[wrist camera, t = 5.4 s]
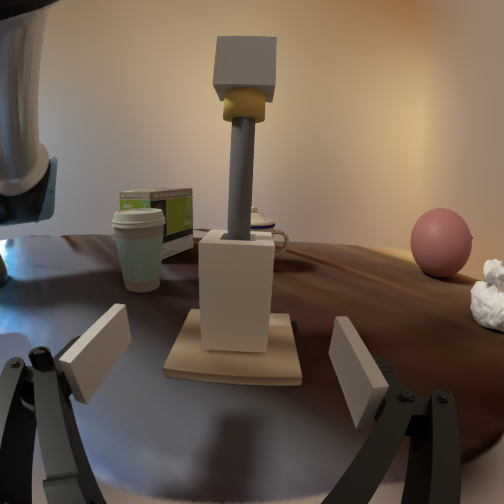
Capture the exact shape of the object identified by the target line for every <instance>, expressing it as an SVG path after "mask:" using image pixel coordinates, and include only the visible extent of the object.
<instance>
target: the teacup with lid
mask: <svg viewBox="0 0 504 504" xmlns="http://www.w3.org/2000/svg"><path fill="white" fill-rule="evenodd" d="M274 226H275V224H274V221H273V220H272V219H269V218H267V217H265V216H264V215H263V214H261V213H258V212H257V208H256V207H251V227H250V231H256V232H271V234H272V238H273V234H281V235H283V236H284V237H285V243H284V245H283V247H282V248H281V249H280V250H278V251H274V255H279V254H282V253H283V252H284V251H285V250H286V248H287V246H288V243H289V238H288V235H287V234H286V233H285V232H283V231H281V230H274Z"/></svg>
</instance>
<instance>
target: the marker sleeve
mask: <svg viewBox="0 0 504 504" xmlns="http://www.w3.org/2000/svg"><path fill="white" fill-rule="evenodd" d="M227 237H228V230H210V231H209V232H208V233H207V234H206V236H204V237H203V239H202V240H201V241H200V242H199V298H200V325H201V344H202V349H213V350H227V351H243V352H267V342H268V330H269V318H270V306H271V293H272V279H273V265H274V250H275V245H274V242H273V238H272V234H271V232H256V231H250V241H241V240H227Z"/></svg>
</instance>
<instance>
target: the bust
mask: <svg viewBox="0 0 504 504" xmlns="http://www.w3.org/2000/svg"><path fill="white" fill-rule="evenodd" d="M483 277H484V280H485V282H484V281H477V282H476V283H475V285H474V286H473V288H472V289H471V297H472V304H471V307H470V308H471V311H472V313H473V317H474V319H475V320H476V321H477V323H478V324H479V325H481V326H483V327H486V328H491V329H496V330H499V331H502V332H504V288H503V284H504V268H503V264H502V261H498V260H497V259H494V260H492V261H491V260H487V261H486V262H485V265H484V267H483Z"/></svg>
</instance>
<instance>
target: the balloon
mask: <svg viewBox="0 0 504 504" xmlns="http://www.w3.org/2000/svg"><path fill="white" fill-rule="evenodd" d="M472 239H473V237H472V236H471V234H470V231H469V228H468V226H467V224H466V222H465V221H464V220H463V219H462V217H461V216H459V215H458V214H457V213H455V212H454V211H452V210H449V209H445V208H438V209H433V210H430V211H428V212H426V213H425V214H423V215H422V216H421V217H420V218H419V219H418V221H417V222H416V224H415V226H414V228H413V231H412V235H411V249H412V254H413V257H414V259H415V261H416V263H417V264H418V265H419V267H420V268H421V269H422V270H423V271H425V272H426V273H428V274H429V275H432V276H435V277H448V276H451V275H453V274H455V273H457V272H458V271H459V270H461V269H462V268H463V266H464V265H465V264H466V262H467V260H468V258H469V256H470V252H471V246H472Z"/></svg>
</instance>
